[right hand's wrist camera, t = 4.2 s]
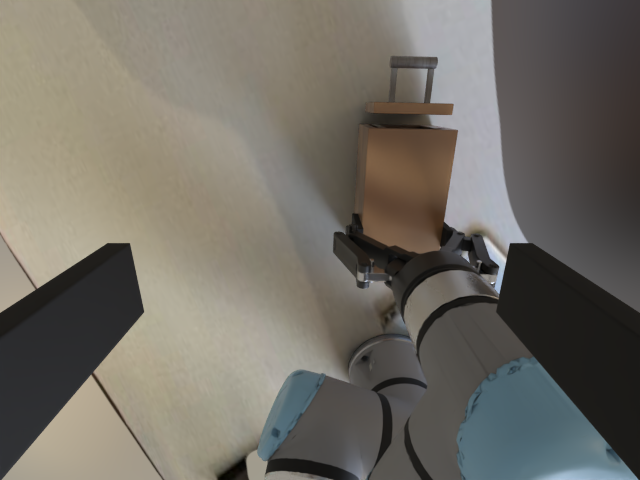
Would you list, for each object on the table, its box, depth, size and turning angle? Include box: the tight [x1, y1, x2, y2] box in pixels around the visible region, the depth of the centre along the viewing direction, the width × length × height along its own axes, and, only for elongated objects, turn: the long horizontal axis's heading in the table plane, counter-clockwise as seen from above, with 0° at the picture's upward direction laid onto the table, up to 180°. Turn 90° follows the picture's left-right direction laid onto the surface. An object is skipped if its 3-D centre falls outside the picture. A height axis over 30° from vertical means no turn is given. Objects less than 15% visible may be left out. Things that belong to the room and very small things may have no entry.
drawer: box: [365, 56, 453, 129], centre depth 46 cm, size 21×9×8 cm, turn 179°
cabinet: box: [354, 124, 458, 254], centre depth 48 cm, size 18×10×10 cm, turn 179°
